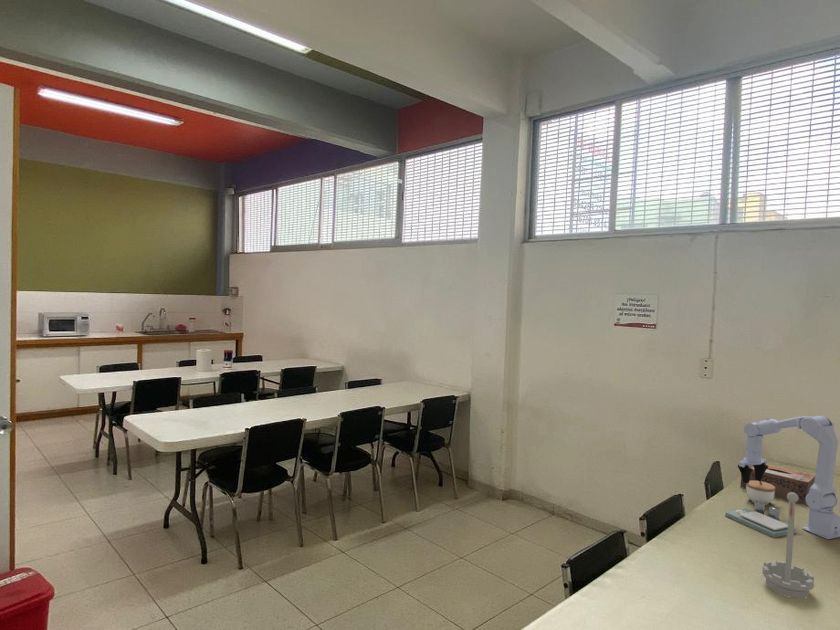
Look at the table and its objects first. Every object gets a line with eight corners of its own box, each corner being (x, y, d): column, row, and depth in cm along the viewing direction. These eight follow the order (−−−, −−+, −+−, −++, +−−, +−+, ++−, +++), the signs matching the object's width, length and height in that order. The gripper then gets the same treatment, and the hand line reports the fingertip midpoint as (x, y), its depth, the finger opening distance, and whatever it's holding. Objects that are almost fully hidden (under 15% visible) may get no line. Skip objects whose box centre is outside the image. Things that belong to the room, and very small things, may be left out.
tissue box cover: (740, 487, 249) (741, 466, 248) (750, 480, 259) (751, 460, 258) (806, 505, 230) (808, 482, 230) (814, 496, 240) (816, 475, 239)
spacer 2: (780, 521, 212) (781, 509, 211) (774, 523, 210) (775, 510, 210) (772, 518, 215) (772, 506, 215) (766, 519, 214) (766, 507, 213)
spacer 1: (766, 515, 217) (766, 503, 217) (760, 516, 216) (760, 504, 216) (757, 512, 220) (758, 500, 220) (751, 513, 219) (752, 501, 219)
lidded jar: (780, 507, 226) (781, 486, 225) (754, 506, 226) (755, 485, 226) (764, 497, 237) (765, 477, 236) (740, 496, 237) (741, 476, 236)
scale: (795, 533, 202) (795, 526, 202) (774, 537, 197) (774, 531, 197) (745, 512, 220) (746, 505, 220) (725, 515, 216) (725, 509, 216)
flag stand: (764, 572, 172) (770, 481, 171) (814, 587, 164) (820, 492, 163) (758, 589, 162) (764, 492, 161) (811, 606, 154) (818, 504, 153)
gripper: (756, 446, 234) (754, 476, 234) (733, 449, 228) (731, 480, 229) (772, 450, 227) (770, 482, 228) (748, 454, 222) (746, 486, 222)
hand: (752, 481), depth 228 cm, fingers open, 7 cm apart
